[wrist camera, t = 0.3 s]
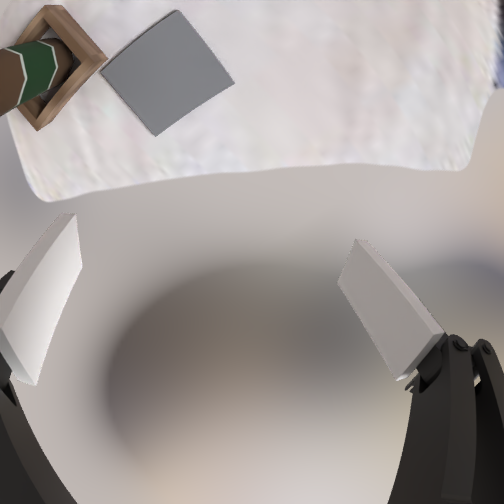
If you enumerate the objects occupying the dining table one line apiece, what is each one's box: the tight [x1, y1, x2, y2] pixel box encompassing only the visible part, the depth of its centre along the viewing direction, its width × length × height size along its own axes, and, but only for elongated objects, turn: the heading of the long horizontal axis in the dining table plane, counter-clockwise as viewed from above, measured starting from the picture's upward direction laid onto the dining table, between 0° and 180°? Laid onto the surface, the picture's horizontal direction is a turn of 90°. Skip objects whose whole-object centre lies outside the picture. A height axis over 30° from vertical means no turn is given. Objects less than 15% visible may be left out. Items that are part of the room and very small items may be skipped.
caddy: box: [14, 5, 108, 131], centre depth 20 cm, size 12×12×4 cm
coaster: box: [101, 10, 235, 137], centre depth 26 cm, size 12×12×1 cm
